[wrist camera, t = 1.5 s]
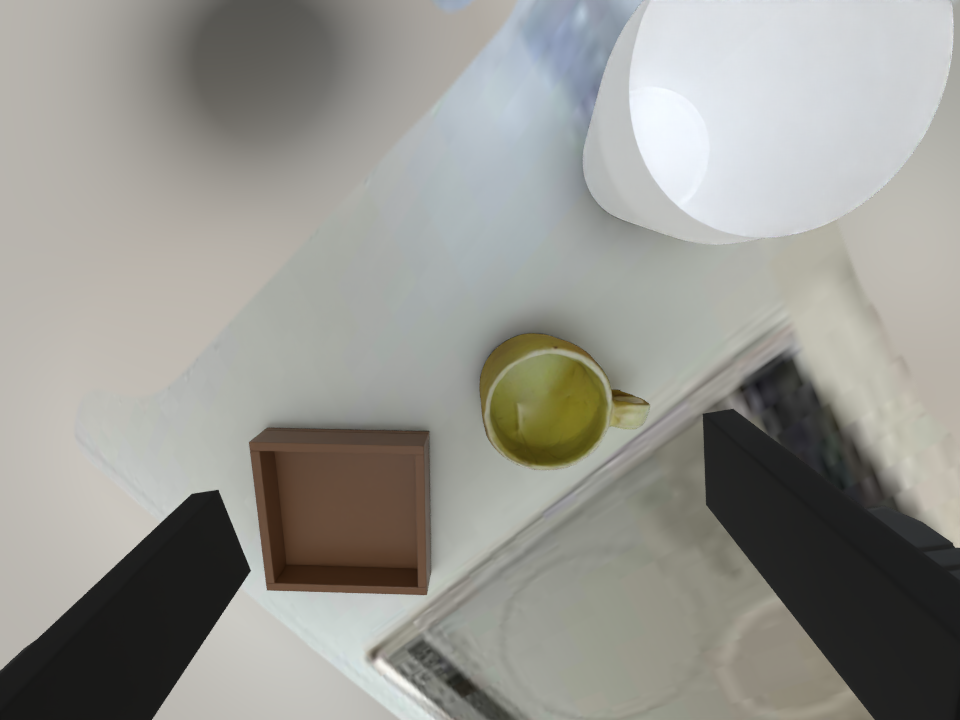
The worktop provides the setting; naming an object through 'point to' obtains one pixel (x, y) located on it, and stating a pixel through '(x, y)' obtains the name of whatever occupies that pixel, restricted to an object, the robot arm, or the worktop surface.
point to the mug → (550, 402)
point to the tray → (344, 509)
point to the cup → (762, 111)
